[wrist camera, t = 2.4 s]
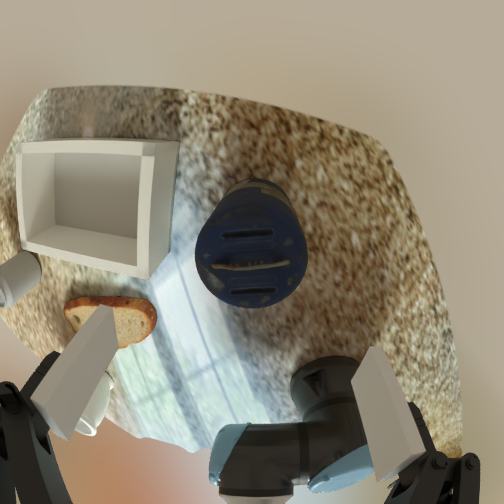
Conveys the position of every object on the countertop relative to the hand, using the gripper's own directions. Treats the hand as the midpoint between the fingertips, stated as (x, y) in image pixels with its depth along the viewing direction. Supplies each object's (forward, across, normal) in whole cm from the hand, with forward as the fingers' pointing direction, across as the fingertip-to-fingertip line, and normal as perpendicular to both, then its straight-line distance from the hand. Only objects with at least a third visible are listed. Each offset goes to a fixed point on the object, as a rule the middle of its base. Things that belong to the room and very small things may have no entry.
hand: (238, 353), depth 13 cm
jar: (+27, +30, +44) cm, 59 cm away
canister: (+27, 0, 0) cm, 27 cm away
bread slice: (+27, +24, +23) cm, 43 cm away
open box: (+27, +23, 0) cm, 35 cm away
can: (+27, +43, +17) cm, 53 cm away
